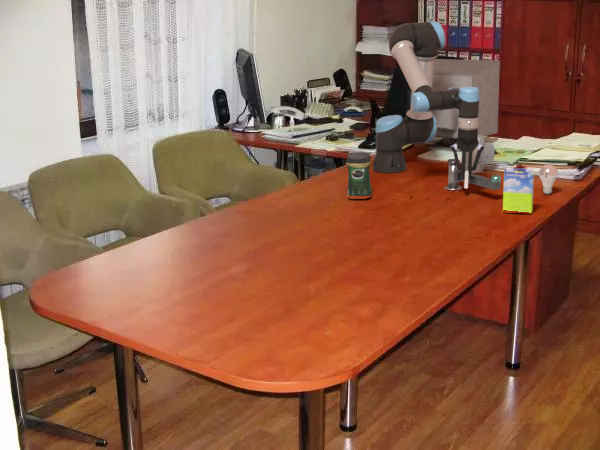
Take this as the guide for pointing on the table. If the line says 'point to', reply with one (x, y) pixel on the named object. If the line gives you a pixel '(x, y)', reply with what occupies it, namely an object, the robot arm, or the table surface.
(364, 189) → the coffee jar
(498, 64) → the crt monitor
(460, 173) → the swing bar
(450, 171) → the post
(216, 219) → the table surface
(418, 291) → the table surface
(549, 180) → the light bulb
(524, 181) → the box
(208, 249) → the table surface
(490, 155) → the circuit breaker
